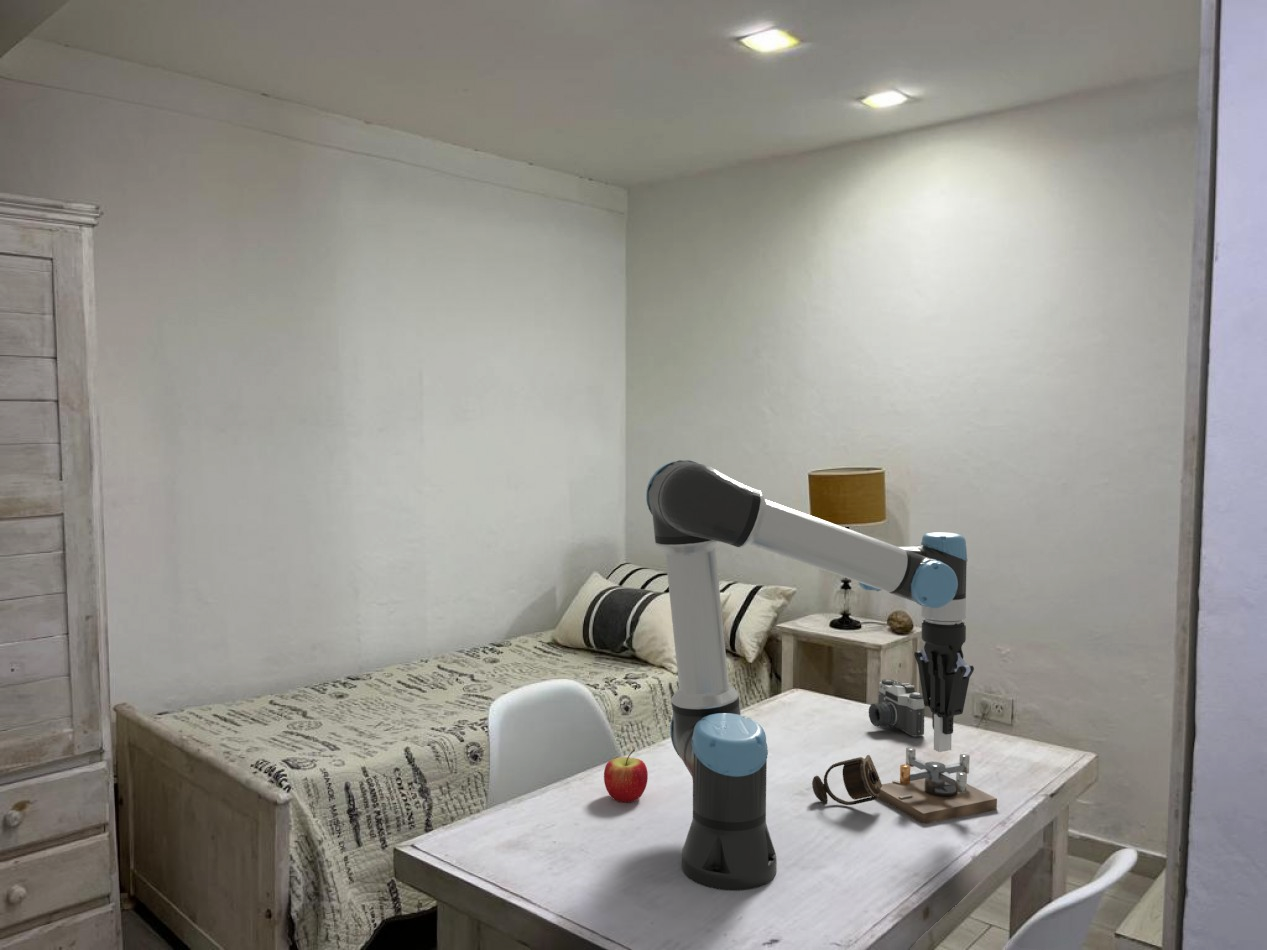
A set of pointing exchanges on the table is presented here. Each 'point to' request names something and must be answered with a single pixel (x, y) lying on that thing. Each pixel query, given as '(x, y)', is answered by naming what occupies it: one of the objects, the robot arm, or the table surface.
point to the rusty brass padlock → (852, 781)
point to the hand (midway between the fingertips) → (942, 749)
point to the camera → (898, 707)
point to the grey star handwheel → (936, 774)
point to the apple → (625, 778)
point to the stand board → (934, 801)
